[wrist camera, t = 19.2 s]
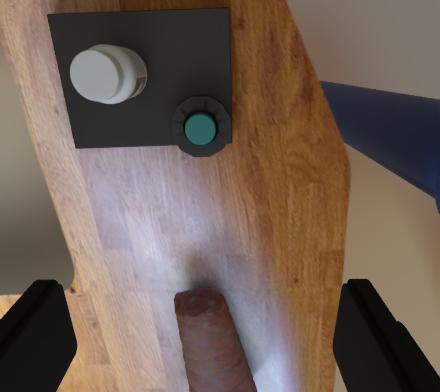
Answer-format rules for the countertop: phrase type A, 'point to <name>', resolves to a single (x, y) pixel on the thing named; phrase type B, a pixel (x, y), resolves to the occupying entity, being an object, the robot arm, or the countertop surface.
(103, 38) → the scale
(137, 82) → the pill bottle
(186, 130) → the button
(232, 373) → the food
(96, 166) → the countertop surface
